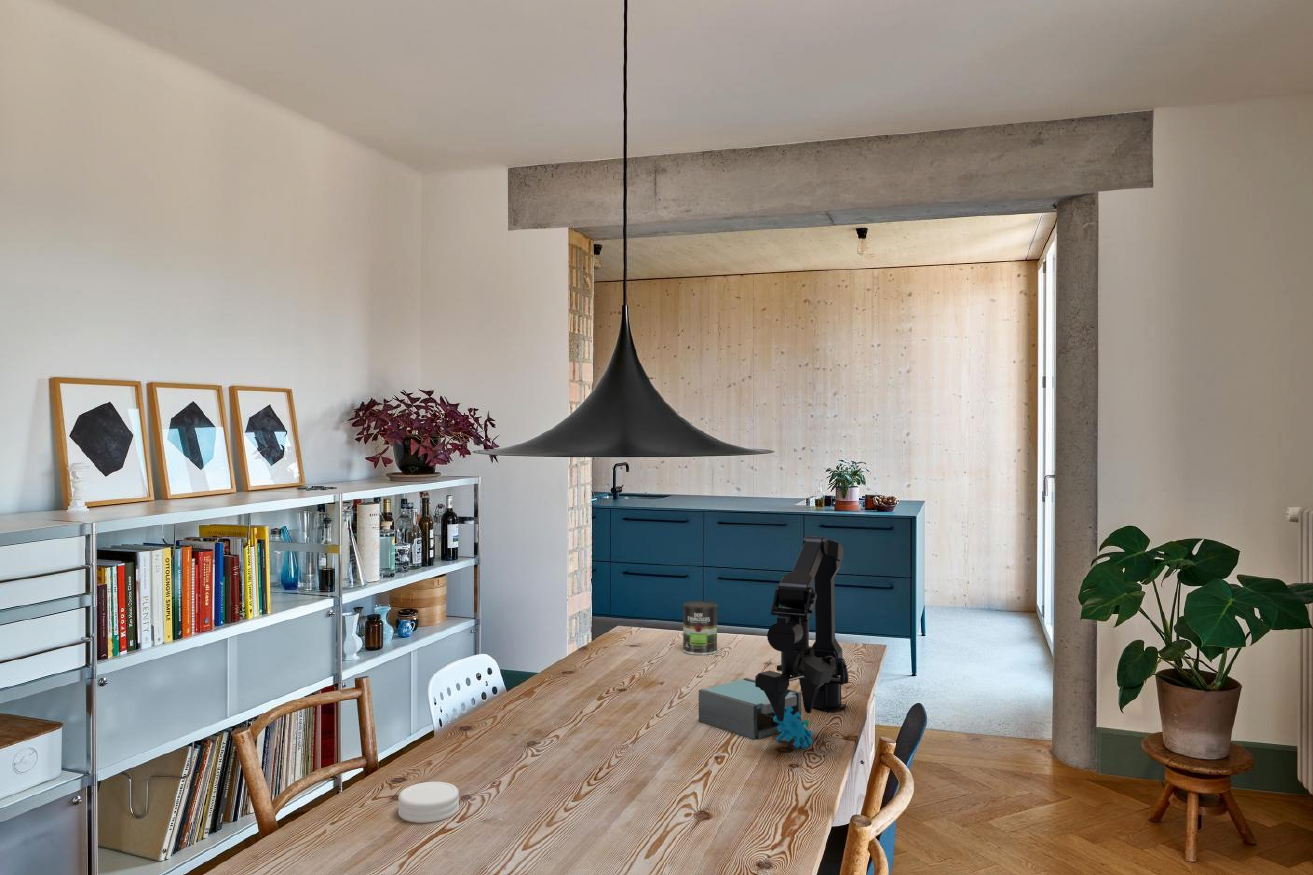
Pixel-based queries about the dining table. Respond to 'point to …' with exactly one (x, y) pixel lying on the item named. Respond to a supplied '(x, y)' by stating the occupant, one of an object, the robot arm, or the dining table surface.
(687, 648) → the coffee can
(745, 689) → the sliding box lid
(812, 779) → the dining table surface
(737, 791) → the dining table surface
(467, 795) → the dining table surface
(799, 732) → the gear
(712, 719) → the grey drawer box
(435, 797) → the coaster
